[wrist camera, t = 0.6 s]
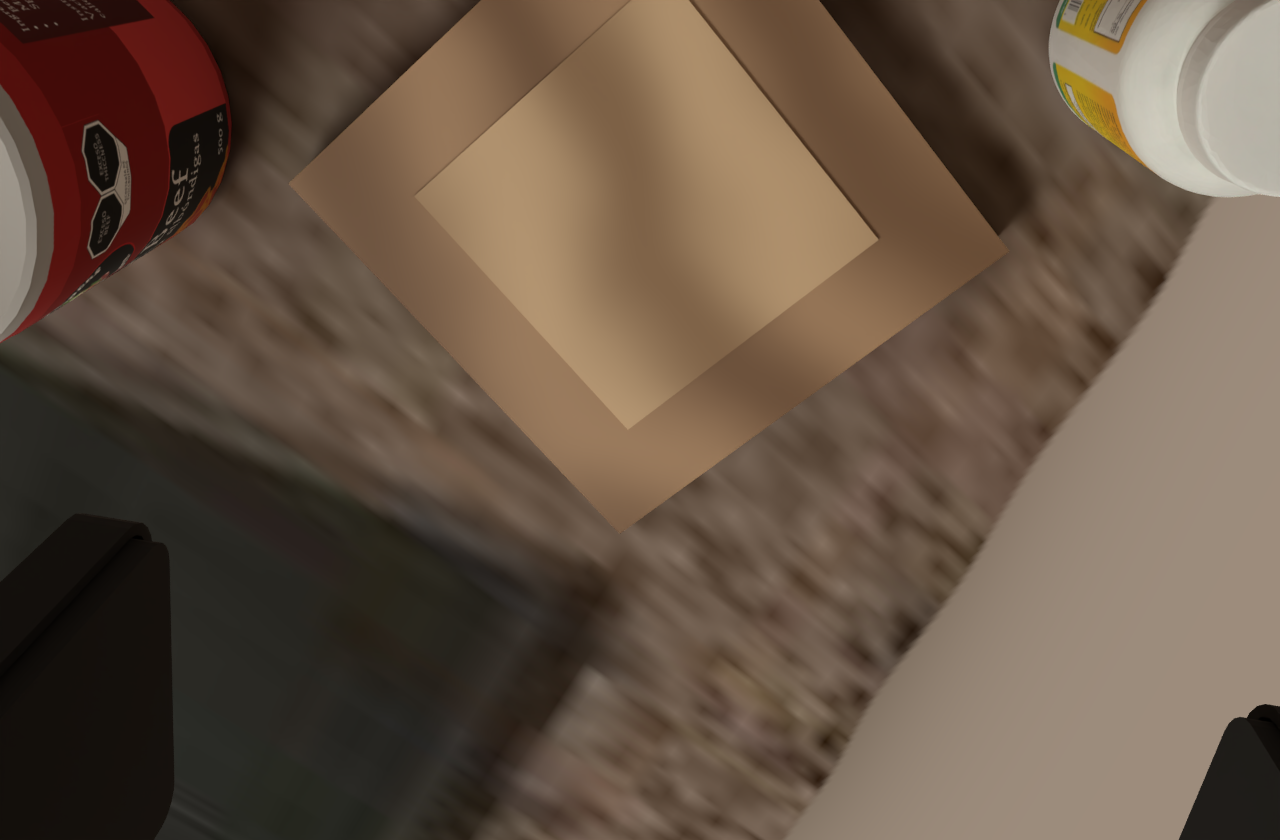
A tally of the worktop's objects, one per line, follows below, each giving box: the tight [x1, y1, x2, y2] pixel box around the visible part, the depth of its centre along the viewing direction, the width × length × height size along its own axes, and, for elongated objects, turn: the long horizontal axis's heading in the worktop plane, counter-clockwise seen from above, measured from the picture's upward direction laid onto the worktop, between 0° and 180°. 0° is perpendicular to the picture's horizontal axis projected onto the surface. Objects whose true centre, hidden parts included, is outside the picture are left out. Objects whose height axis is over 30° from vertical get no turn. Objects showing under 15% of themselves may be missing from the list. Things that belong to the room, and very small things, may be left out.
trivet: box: [288, 0, 1009, 534], centre depth 34 cm, size 14×14×2 cm
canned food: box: [0, 0, 232, 343], centre depth 29 cm, size 8×8×11 cm
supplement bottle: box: [1049, 0, 1280, 197], centre depth 27 cm, size 5×5×10 cm
